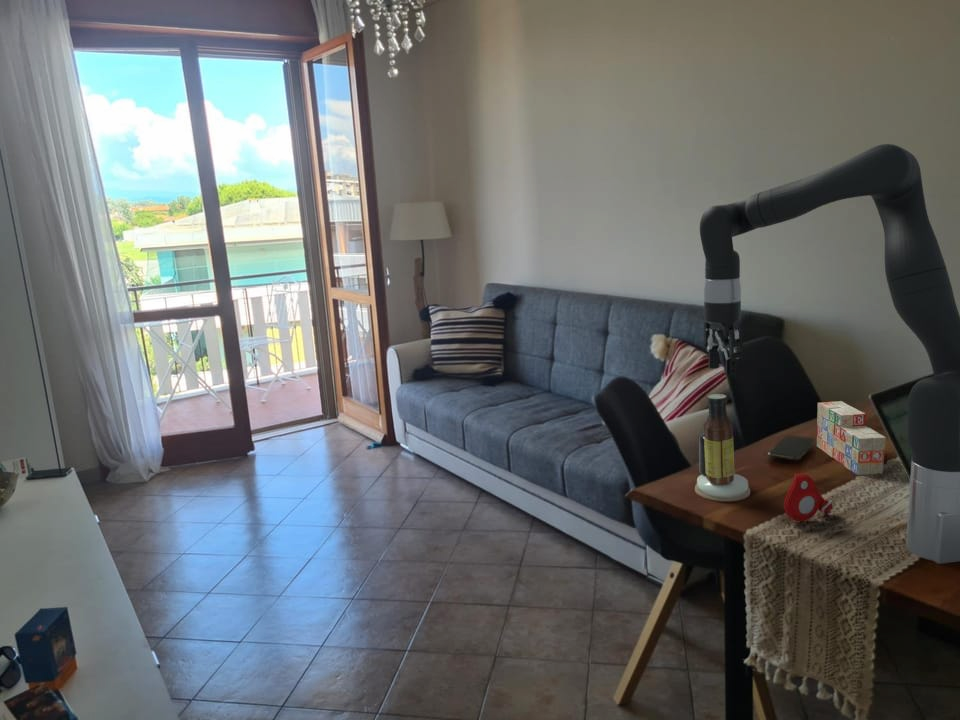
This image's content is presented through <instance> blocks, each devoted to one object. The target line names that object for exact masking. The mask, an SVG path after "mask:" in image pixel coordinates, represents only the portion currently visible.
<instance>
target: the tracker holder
mask: <svg viewBox="0 0 960 720" xmlns="http://www.w3.org/2000/svg"><path fill="white" fill-rule="evenodd" d="M793 476H794V478H793V481H792V483H791V486H790V487H789V488H788V491H787V494H786V496H785V499H784V502H783V510H784V513H785V514H786V516H787V517H788V518H790V519H791V520H793V521H795V522H806V521H808V520H810V519H811V518H813V517H814V516H815V515H816V514H817V512H818V511H819V512H821V516H823V517H825V516H828V515H829V514H832V510H833V509H834V502H833V500H831V499H830V500H827V499H824V496H822V495H821V494H820V491H819V489H818V487H817V485H816V482H815V481H814V479H813V478H812V477H811V476H809V475H808V474H806V473H805V472H801V473H794V475H793ZM824 515H825V516H824Z"/></svg>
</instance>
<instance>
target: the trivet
mask: <svg viewBox="0 0 960 720" xmlns="http://www.w3.org/2000/svg"><path fill="white" fill-rule="evenodd" d="M694 492H695V494H696V495H698V496H700V497H702V498H703V499H706V500H710V501H714V502H722V503H723V502H725V503H726V502H727V503H729V502H730V503H731V502H739V501H743V500H745V499H747V498H748V497H750V496H751V488H750V487H749V481H748V479H747V478H745V477H744V476H742V475H740V474H738V473H737V474H736V473H734V480H733V481H732V482H731V483H727V484H717V483H712V482H710V481H708V480H707V478H706V476H704V475H702V474H700V475H698V477H697V479H696V483H695V486H694Z"/></svg>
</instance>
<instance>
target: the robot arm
mask: <svg viewBox="0 0 960 720" xmlns="http://www.w3.org/2000/svg"><path fill="white" fill-rule="evenodd" d="M867 196H870V197H871V198H872V200H873V202H874V204H875V207H876V210H877V212H878V216H879V218H880V220H881V224H882V229H883V233H884V272H885V277H886V282H887V285H888V286H887V287H888V290H889V293H890V298H891V301H892V304H893V306H894V309H895V311H896V313H897V314H898V315H899V317H900V318H901V319H902V321H903V322H904V324H905V325H906V326H907V327H908V328H909V329H910V330H911V332H912V333H913V334H914V335H915V336H916V337H917V338H918V340H919V341H920V342H921V343H922V346H923V347H924V349H925V351H926V353H927V355H928V359H929V361H930V366H931V370H932V374H933V375H932V376H929V377H925V378H922V379H920V380H918V381H917V382H915V384H913V386H912V388H911V390H910V392H909V394H908V400H907V443H908V446H909V448H910V451H911V466H910V478H909V490H908V491H909V493H908V494H909V495H908V509H907V510H908V511H907V526H906V544H905V547H906V549H907V550H908V551H909V552H910V553H911V554H913V555H914V556H916V557H919V558H921V559H924V560H928V561H932V562H935V564H938V565H942V564H949V563H955V562H956V563H957V562H960V313H959V310H958V307H957V306H958V305H957V303H956V300H955V296H954V291H953V288H952V283H951V280H950V279H951V278H950V275H949V272H948V269H947V265H946V263H945V259H944V257H943V254H942V250H941V248H940V244H939V242H938V239H937V237H936V234H935V232H934V229H933V227H932V224H931V221H930V219H929V215H928V211H927V206H926V205H927V204H926V199H925V195H924V188H923V178H922V172H921V167H920V164H919V162H918V159H917V158H916V157H915V155H914V154H912V153H911V152H909V150H907V149H905V148H903V147H901V146H899V145H896V144H892V143H891V144H890V143H884V144H879V145H876V146H873V147H871V148H869V149H866V150H865V151H862V152H861V153H858V154H857V155H854V156H853V157H850V158H848V159H847V160H844V161H843V162H841V163H839V164H835V165H834V166H832V167H830V168H826V169H825V170H823V171H820V172H817V173H814V174H812V175H809V176H807V177H803V178H801V179H798V180H796V181H792V182H788V183H786V184H782V185H779V186H776V187H773V188H769V189H767V190H763V191H760V192H757V193H756V194H753V195H752V194H751V196H749V197H748V198H746V199H742V200H739V201H736V202H732V203H728V204H727V203H726V204H719V205H712V206H710V207H708V208H707V209H706V210H705V211H704V212H703V214H702V215H701V218H700V222H699V236H700V240H701V246H702V250H703V255H704V257H705V264H704V265H705V267H704V269H705V270H704V271H705V272H704V273H705V275H704V278H705V280H704V281H705V282H704V288H703V292H704V293H703V294H704V295H703V296H704V299H703V301H704V302H703V303H704V304H703V305H704V306H703V309H704V310H703V318H704V321H703V343H702V344H703V347H704V348H706V352H708V368H709V369H711V370H712V369H713V370H714V369H719V368H720V352H719V351H720V350H721V352H723V354H724V358H725V364H724V365H725V369H724V370H725V371H724V372H725V376H726V377H727V378H731V377H736V376H737V373H738V372H737V371H738V370H737V369H738V368H737V367H738V361H737V360H739V359H741V358H743V357H744V355H743V354H744V352H743V351H744V349H743V347H744V346H743V342H744V341H743V330H742V329H735V323H737V322H740V320H741V317H742V315H741V313H742V311H741V310H742V306H741V305H742V304H741V303H742V301H741V300H742V285H741V278H740V276H741V265H740V264H741V259H740V258H741V257H740V254H739V253H738V252H737V251H736V250H735V249H734V243H733V238H734V237H737V236H741V235H744V234H746V233H750V232H752V231H755V230H756V229H758V228H765V227H770V226H773V225H777V224H780V223H784V222H787V221H790V220H793V219H796V218H798V217H802V216H803V215H806V214H807V213H810V212H813V211H814V210H816V209H818V208H821V207H823V206H825V205H829V204H830V203H834V202H835V203H836V202H838V201H842V200H846V199H852V198H857V197H858V198H859V197H867Z"/></svg>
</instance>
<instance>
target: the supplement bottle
mask: <svg viewBox="0 0 960 720" xmlns="http://www.w3.org/2000/svg"><path fill="white" fill-rule="evenodd" d="M702 432H703V433H701V435H699V438H698V470H699V473H700V475H704V476H706V469H705V448H704V428H702Z"/></svg>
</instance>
